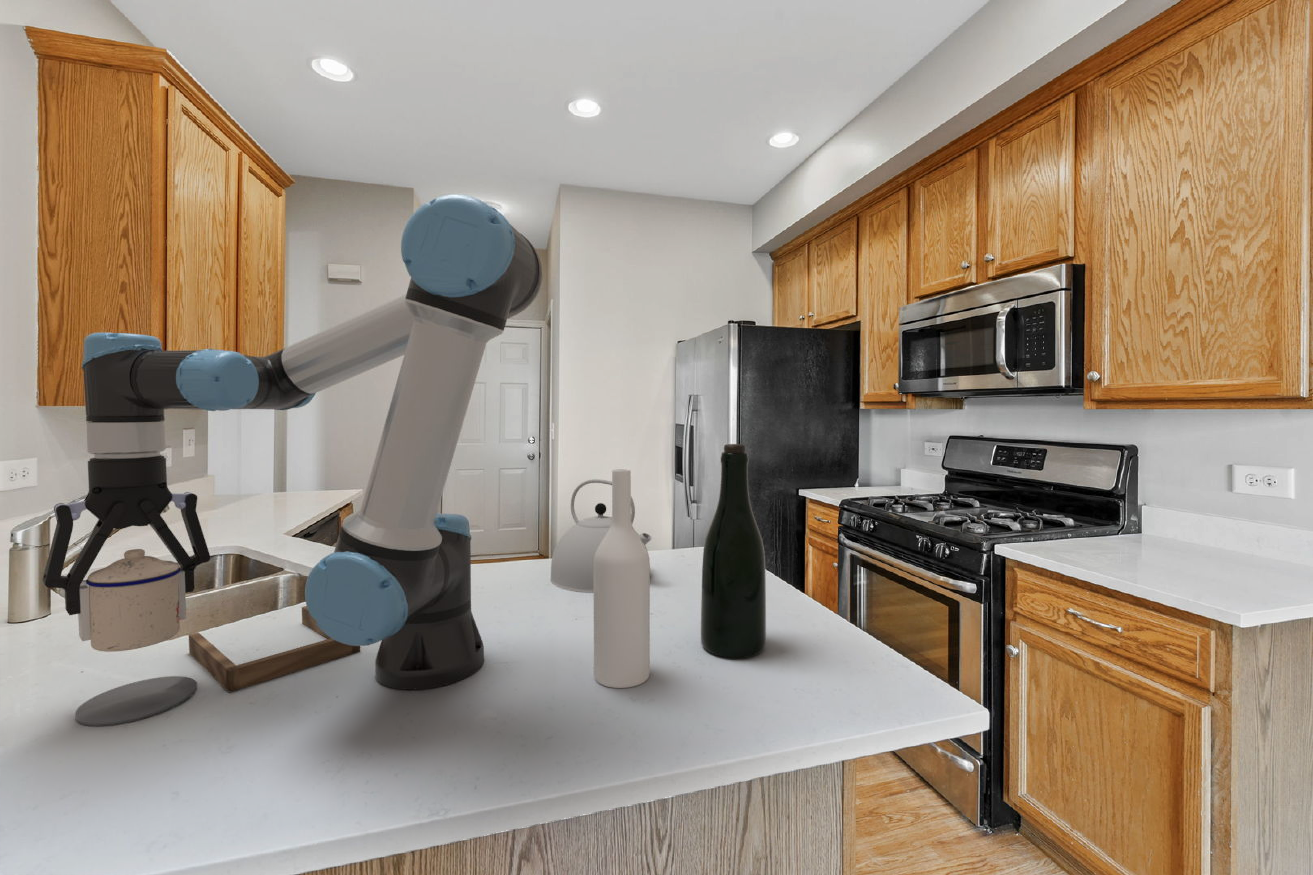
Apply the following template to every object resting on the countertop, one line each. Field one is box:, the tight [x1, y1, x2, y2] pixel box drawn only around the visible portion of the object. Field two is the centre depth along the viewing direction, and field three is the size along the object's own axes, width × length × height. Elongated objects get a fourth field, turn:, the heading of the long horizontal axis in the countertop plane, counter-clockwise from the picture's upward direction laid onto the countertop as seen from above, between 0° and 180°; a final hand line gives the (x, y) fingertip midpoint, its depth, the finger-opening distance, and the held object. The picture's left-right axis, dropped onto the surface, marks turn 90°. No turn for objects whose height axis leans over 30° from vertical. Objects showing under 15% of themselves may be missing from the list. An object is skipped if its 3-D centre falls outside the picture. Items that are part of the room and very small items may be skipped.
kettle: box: [550, 478, 653, 594], centre depth 133 cm, size 25×23×22 cm
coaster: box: [74, 675, 198, 727], centre depth 77 cm, size 12×12×1 cm
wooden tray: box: [188, 605, 361, 693], centre depth 93 cm, size 20×17×3 cm
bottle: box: [593, 468, 651, 689], centre depth 84 cm, size 8×8×30 cm
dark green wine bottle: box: [700, 443, 767, 659], centre depth 94 cm, size 10×10×33 cm
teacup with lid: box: [85, 548, 181, 653], centre depth 76 cm, size 12×9×12 cm
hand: (134, 626), depth 77 cm, fingers closed on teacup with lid, 9 cm apart
